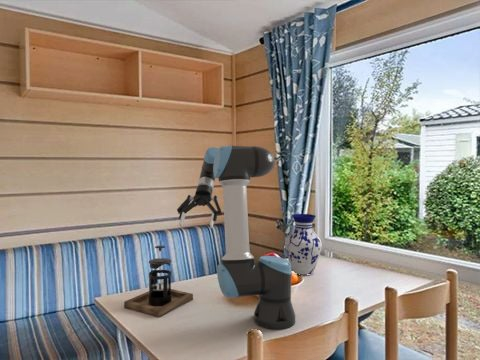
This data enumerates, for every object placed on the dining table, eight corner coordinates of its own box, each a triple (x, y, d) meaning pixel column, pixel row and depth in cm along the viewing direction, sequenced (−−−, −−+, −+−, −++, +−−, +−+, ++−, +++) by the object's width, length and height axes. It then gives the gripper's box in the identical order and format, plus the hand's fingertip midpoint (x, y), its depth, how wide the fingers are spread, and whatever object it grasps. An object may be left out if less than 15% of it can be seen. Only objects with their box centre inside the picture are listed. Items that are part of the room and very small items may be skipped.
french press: (177, 303, 156) (177, 246, 155) (155, 308, 150) (155, 250, 149) (162, 295, 165) (162, 241, 164) (142, 300, 159) (142, 244, 158)
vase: (321, 279, 191) (322, 219, 189) (282, 276, 195) (283, 217, 193) (321, 268, 210) (322, 213, 208) (285, 266, 213) (286, 212, 212)
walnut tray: (193, 299, 162) (193, 293, 162) (159, 317, 144) (159, 310, 144) (159, 292, 171) (159, 286, 171) (124, 307, 153) (124, 301, 153)
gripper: (231, 194, 182) (225, 232, 169) (181, 193, 187) (170, 230, 173) (229, 183, 177) (222, 221, 163) (177, 183, 181) (166, 220, 167)
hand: (195, 226), depth 168 cm, fingers open, 13 cm apart
